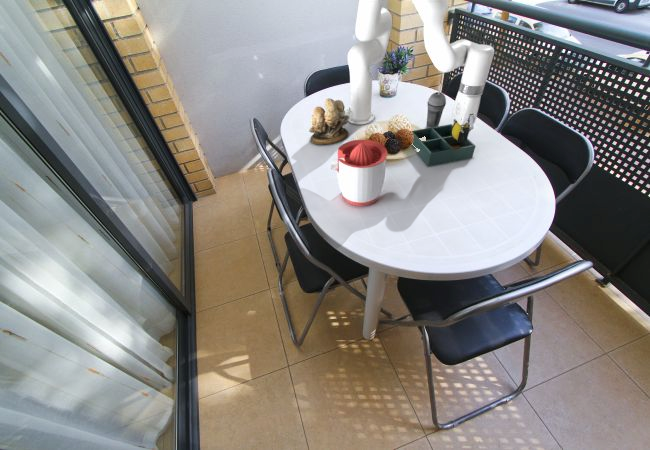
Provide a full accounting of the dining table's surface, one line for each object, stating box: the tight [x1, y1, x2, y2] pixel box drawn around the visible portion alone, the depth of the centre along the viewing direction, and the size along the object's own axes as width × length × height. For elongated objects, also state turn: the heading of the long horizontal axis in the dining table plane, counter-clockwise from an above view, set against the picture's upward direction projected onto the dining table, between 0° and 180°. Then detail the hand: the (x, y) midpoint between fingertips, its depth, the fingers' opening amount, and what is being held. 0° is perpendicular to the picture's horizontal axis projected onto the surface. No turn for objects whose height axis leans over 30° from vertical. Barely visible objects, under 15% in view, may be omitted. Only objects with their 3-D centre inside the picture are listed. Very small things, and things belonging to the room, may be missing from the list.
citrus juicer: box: [330, 139, 389, 207], centre depth 101 cm, size 16×17×20 cm
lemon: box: [452, 122, 468, 140], centre depth 115 cm, size 6×6×8 cm
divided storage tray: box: [410, 123, 476, 167], centre depth 122 cm, size 18×18×5 cm
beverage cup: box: [426, 82, 447, 128], centre depth 129 cm, size 7×7×20 cm
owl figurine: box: [308, 98, 349, 146], centre depth 131 cm, size 18×12×17 cm, turn 116°
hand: (458, 136), depth 117 cm, fingers closed on lemon, 5 cm apart
